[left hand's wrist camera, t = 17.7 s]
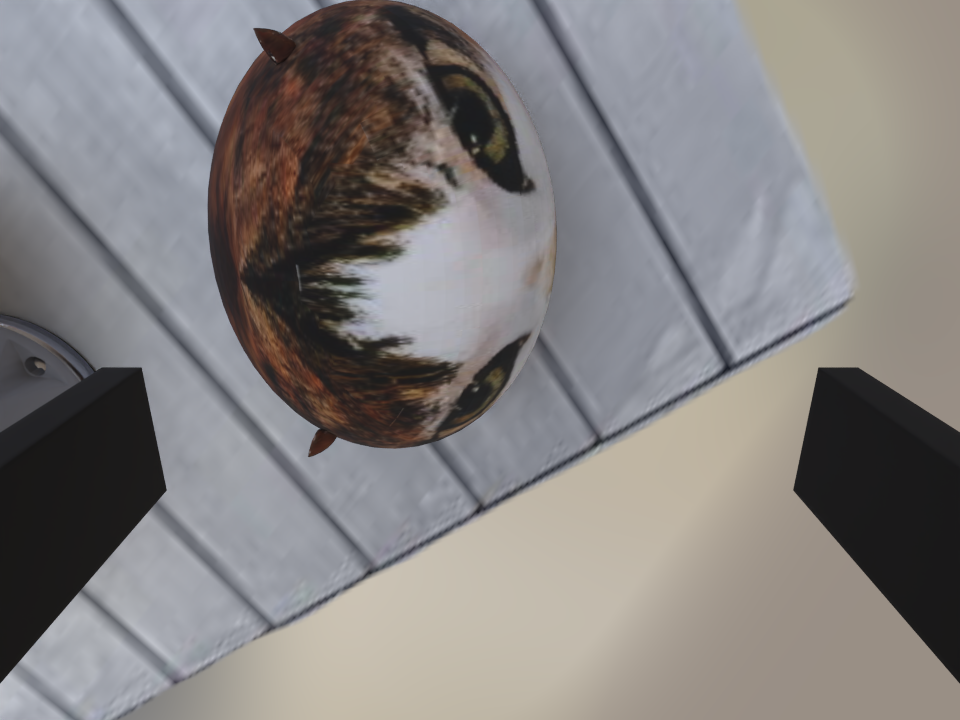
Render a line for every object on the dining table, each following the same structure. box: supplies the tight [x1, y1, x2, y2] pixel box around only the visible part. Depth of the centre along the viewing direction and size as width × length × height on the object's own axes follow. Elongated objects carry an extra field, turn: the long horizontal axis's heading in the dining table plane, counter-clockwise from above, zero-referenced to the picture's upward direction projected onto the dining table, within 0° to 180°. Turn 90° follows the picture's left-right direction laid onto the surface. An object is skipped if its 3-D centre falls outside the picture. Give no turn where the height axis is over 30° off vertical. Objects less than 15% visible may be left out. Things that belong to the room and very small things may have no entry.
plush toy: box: [208, 0, 557, 457], centre depth 34 cm, size 22×18×20 cm
